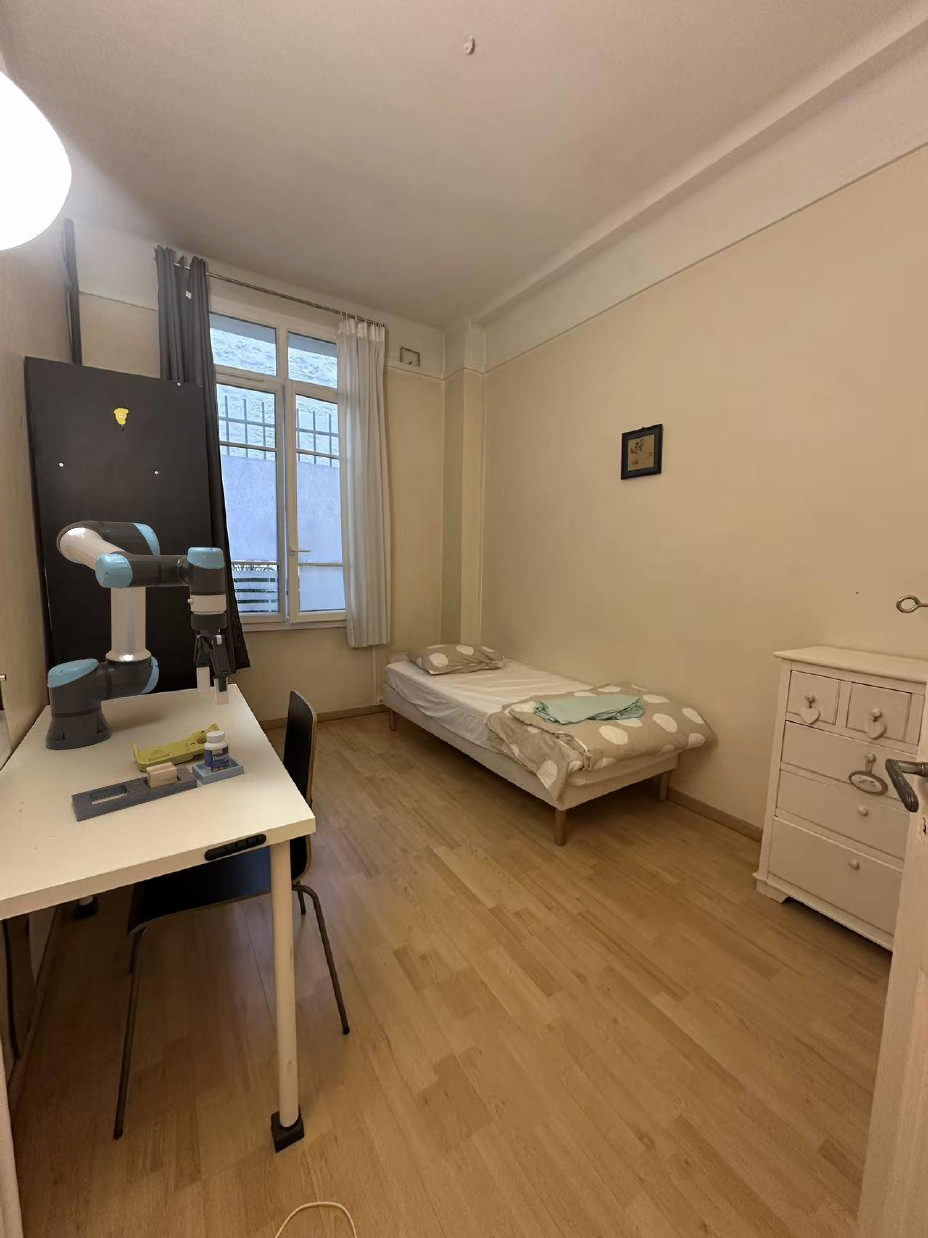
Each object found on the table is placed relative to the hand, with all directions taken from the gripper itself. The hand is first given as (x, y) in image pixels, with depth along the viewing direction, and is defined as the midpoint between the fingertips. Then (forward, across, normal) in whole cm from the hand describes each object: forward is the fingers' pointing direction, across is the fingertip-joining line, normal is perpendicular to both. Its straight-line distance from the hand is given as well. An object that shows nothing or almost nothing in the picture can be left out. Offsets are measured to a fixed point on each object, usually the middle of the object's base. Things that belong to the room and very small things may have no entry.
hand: (212, 698), depth 119 cm
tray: (+19, +1, 0) cm, 19 cm away
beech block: (+19, +1, -12) cm, 23 cm away
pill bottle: (+19, +1, 0) cm, 19 cm away
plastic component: (+20, -16, -4) cm, 26 cm away
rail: (+19, +1, -17) cm, 25 cm away
